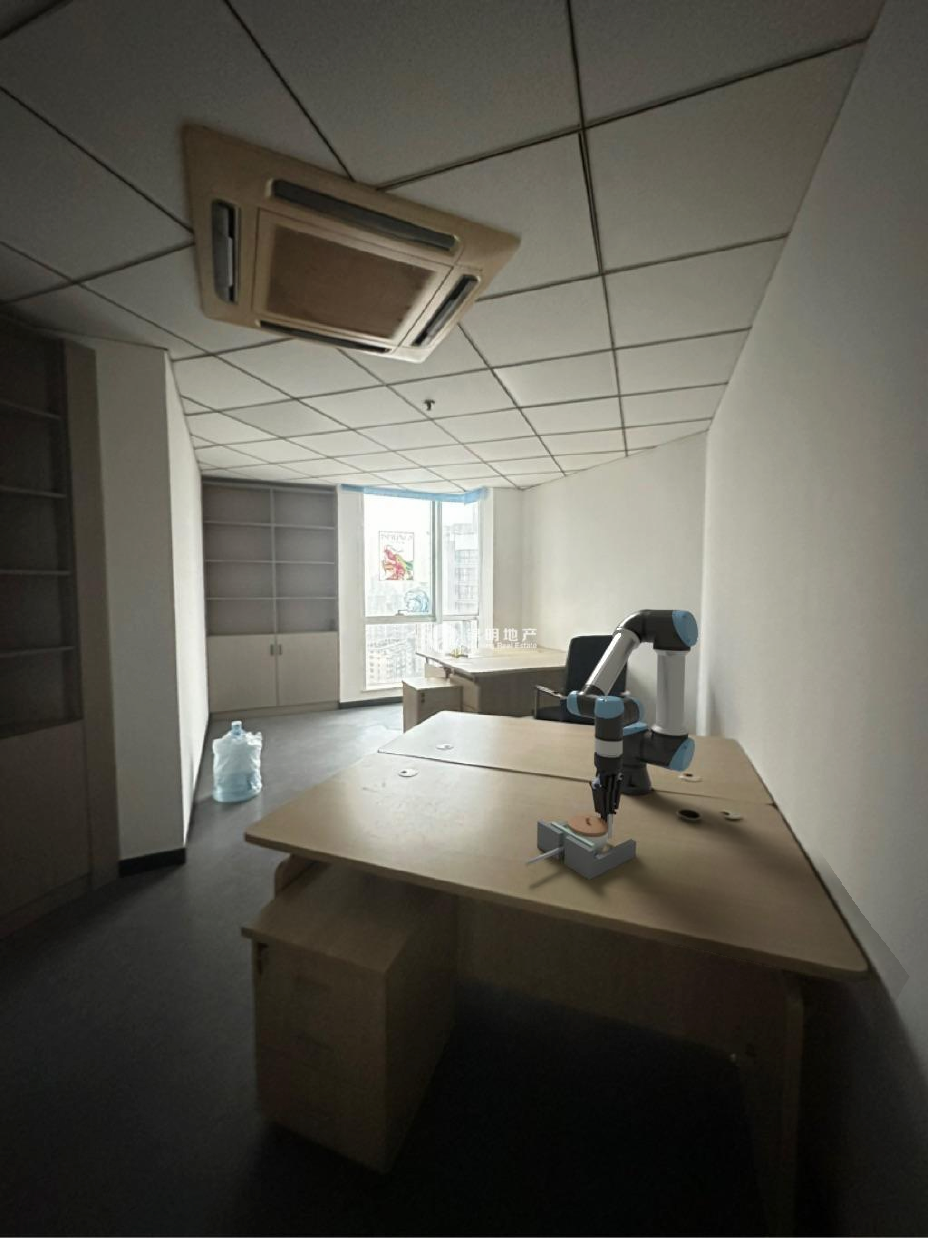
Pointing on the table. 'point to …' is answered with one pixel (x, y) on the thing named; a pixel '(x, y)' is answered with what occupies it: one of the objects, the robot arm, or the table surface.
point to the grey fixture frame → (582, 851)
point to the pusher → (565, 834)
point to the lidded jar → (589, 829)
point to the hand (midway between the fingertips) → (606, 836)
